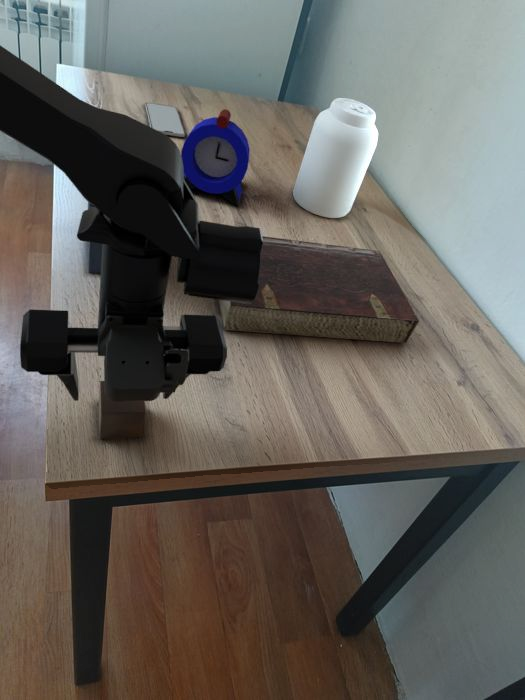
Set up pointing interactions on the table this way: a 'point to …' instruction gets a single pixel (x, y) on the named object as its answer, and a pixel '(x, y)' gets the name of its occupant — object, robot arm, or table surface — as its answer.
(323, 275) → the hardback book
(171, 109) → the smartphone
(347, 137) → the white plastic bottle
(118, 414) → the block
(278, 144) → the table surface
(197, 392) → the table surface
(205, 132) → the alarm clock
